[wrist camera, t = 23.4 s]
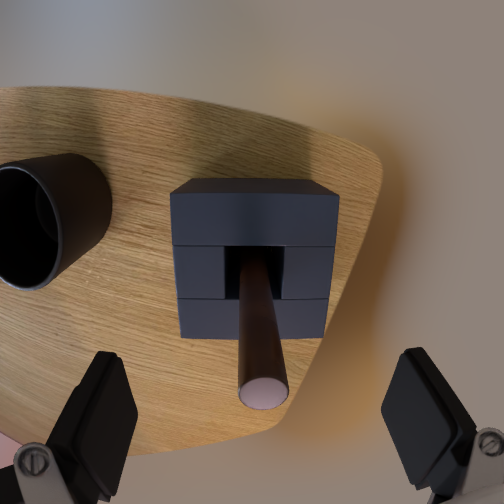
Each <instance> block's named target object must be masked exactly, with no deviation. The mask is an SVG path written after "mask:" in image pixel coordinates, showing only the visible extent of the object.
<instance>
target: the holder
mask: <svg viewBox="0 0 504 504" xmlns="http://www.w3.org/2000/svg"><path fill="white" fill-rule="evenodd" d="M339 198H340V196H339V195H338V194H336V193H334V192H332V191H330V190H329V189H327V188H325V187H323V186H322V185H320V184H318V183H316V182H314V181H312V180H300V179H268V178H192V179H190V180H189V181H187V182H186V183H184V184H183V185H181V186H180V187H178V188H177V189H176V190H174V191H173V192H171V193H170V212H171V232H172V245H173V260H174V273H175V285H176V296H177V306H178V316H179V325H180V334H181V338H190V339H229V340H239V290H240V257H230V245H235V246H272V252H271V257H265V260H266V265H267V270H268V276H269V281H270V286H271V292H272V297H273V303H274V308H275V313H276V319H277V324H278V330H279V335H280V339H307V338H323V336H324V330H325V323H326V316H327V310H328V302H329V295H330V288H331V280H332V271H333V263H334V253H335V244H336V234H337V223H338V211H339Z"/></svg>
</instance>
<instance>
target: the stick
mask: <svg viewBox="0 0 504 504" xmlns="http://www.w3.org/2000/svg"><path fill="white" fill-rule="evenodd" d="M288 395H289V386H288V380H287V374H286V369H285V363H284V358H283V352H282V346H281V341H280V335H279V330H278V324H277V319H276V313H275V308H274V303H273V297H272V292H271V286H270V281H269V276H268V270H267V265H266V260H265V254H264V249H263V246H240V290H239V348H238V396H239V399H240V400H241V402H242V403H243V404H244V405H246V406H247V407H250V408H252V409H257V410H267V409H272V408H275V407H277V406H279V405H281V404H282V403H283V402H284V401H285V400H286V399H287V397H288Z"/></svg>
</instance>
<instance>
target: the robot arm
mask: <svg viewBox="0 0 504 504" xmlns="http://www.w3.org/2000/svg"><path fill="white" fill-rule="evenodd" d="M381 413H382V416H383V418H384V421H385V423H386V425H387V428H388V430H389V433H390V435H391V437H392V439H393V442H394V444H395V447H396V449H397V452H398V454H399V457H400V459H401V461H402V464H403V466H404V469H405V471H406V474H407V476H408V479H409V481H410V483H411V484H412V485H415V487H416V490H420V489H423V488H426V487H429V486H430V487H431V490H432V493H431V496H430V498H429V501H428V503H427V504H504V433H502V432H501V431H500V430H498V429H495V428H489V427H488V428H484V429H482V430H480V431H479V432H477V431H476V427H477V426H476V425H475V423H474V421H473V420H472V418H471V417H470V415H469V414H468V412H467V411H466V409H465V408H464V406H463V405H462V403H461V402H460V400H459V399H458V397H457V396H456V394H455V393H454V391H453V390H452V388H451V387H450V385H449V384H448V382H447V381H446V380H445V378H444V377H443V375H442V374H441V372H440V371H439V370H438V368H437V367H436V365H435V364H434V363H433V361H432V360H431V358H430V357H429V356H428V355H427V353H426V352H425V350H424V349H423V348H422V347H417V348H409V349H406V350H405V351H404V353H403V354H401V355H400V357H399V361H398V363H397V366H396V369H395V372H394V374H393V377H392V380H391V383H390V385H389V388H388V390H387V393H386V395H385V398H384V400H383V403H382V406H381ZM137 419H138V411H137V407H136V404H135V401H134V398H133V395H132V392H131V389H130V386H129V382H128V379H127V376H126V372H125V369H124V365H123V362H122V359H121V358H120V357H117V354H116V353H114V352H106V351H98V352H97V354H96V355H95V357H94V359H93V361H92V362H91V364H90V366H89V368H88V370H87V371H86V373H85V375H84V377H83V379H82V380H81V382H80V384H79V385H78V386H76V387H75V389H74V390H73V392H72V394H71V395H70V397H69V399H68V401H67V403H66V405H65V407H64V409H63V410H62V412H61V414H60V416H59V418H58V420H57V422H56V424H55V426H54V428H53V430H52V432H51V434H50V436H49V438H48V440H47V442H46V444H45V445H44V444H42V443H37V442H32V443H27V444H25V445H23V446H22V447H20V448H19V449H18V451H17V452H16V454H15V456H14V461H13V462H14V464H13V465H10V466H8V467H5V468H2V469H0V504H97V502H98V500H102V501H105V502H110V498H111V496H115V495H116V493H117V489H118V486H119V481H120V478H121V474H122V471H123V467H124V464H125V460H126V457H127V453H128V450H129V446H130V443H131V439H132V436H133V432H134V429H135V426H136V423H137Z"/></svg>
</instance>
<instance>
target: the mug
mask: <svg viewBox="0 0 504 504" xmlns="http://www.w3.org/2000/svg"><path fill="white" fill-rule="evenodd" d="M111 214H112V198H111V192H110V189H109V185H108V183H107V181H106V178H105V176H104V175H103V173H102V172H101V170H100V169H99V168H98V167H97V166H96V165H95V164H94V163H93V162H92V161H90V160H89V159H88V158H86V157H84V156H81V155H78V154H73V153H66V154H58V155H51V156H44V157H37V158H31V159H24V160H19V161H13V162H7V163H4V164H1V165H0V278H1V279H2V280H3V281H4V282H5V283H7V284H8V285H10V286H12V287H14V288H17V289H20V290H25V291H32V290H37V289H40V288H42V287H44V286H46V285H47V284H49V283H50V282H51V281H52V280H53V279H55V278H56V277H57V276H58V275H59V274H60V273H62V272H63V271H64V270H65V269H67V268H68V267H69V266H70V265H71V264H73V263H74V262H75V261H76V260H78V259H79V258H80V257H81V256H83V255H84V254H85V253H86V252H88V251H89V250H90V249H91V248H93V247H94V246H95V245H96V244H98V243H99V242H100V240H101V239H102V238H103V237H104V235H105V233H106V231H107V229H108V227H109V224H110V220H111Z"/></svg>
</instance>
